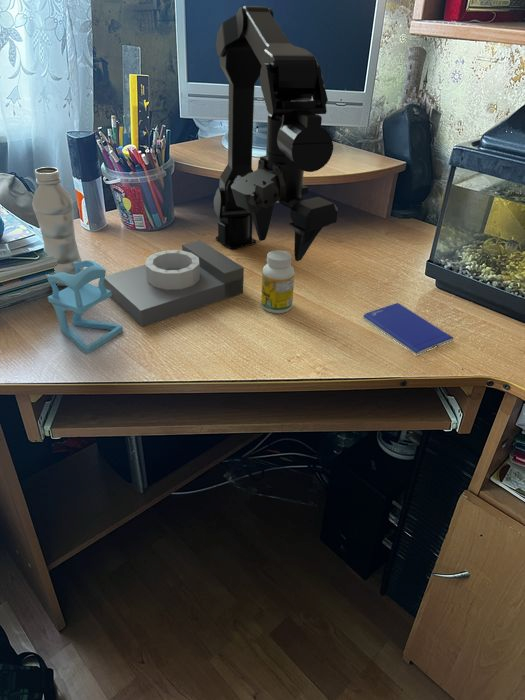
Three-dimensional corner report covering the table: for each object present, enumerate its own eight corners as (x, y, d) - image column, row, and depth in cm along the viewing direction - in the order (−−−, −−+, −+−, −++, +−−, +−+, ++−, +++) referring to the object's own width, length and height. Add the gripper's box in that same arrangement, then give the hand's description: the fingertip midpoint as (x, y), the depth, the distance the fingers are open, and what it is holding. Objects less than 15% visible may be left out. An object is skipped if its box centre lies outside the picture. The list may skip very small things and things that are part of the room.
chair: (85, 315, 90) (73, 247, 83) (124, 330, 86) (114, 261, 79) (48, 337, 84) (32, 266, 77) (88, 354, 81) (74, 281, 74)
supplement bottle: (296, 312, 93) (300, 260, 87) (266, 316, 92) (268, 264, 86) (285, 297, 97) (289, 247, 92) (257, 300, 96) (259, 249, 90)
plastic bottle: (74, 270, 102) (55, 161, 91) (93, 283, 99) (75, 171, 87) (41, 280, 99) (17, 168, 87) (59, 294, 95) (36, 179, 83)
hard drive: (363, 313, 92) (417, 350, 83) (398, 301, 95) (453, 336, 87) (362, 321, 92) (415, 359, 84) (397, 309, 96) (451, 344, 88)
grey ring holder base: (200, 263, 107) (200, 235, 103) (243, 292, 98) (243, 262, 94) (104, 291, 96) (100, 260, 93) (142, 326, 87) (138, 293, 84)
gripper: (204, 143, 81) (206, 241, 90) (284, 177, 69) (277, 286, 78) (263, 134, 87) (259, 227, 96) (346, 164, 75) (333, 267, 84)
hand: (279, 250), depth 88 cm, fingers open, 9 cm apart
